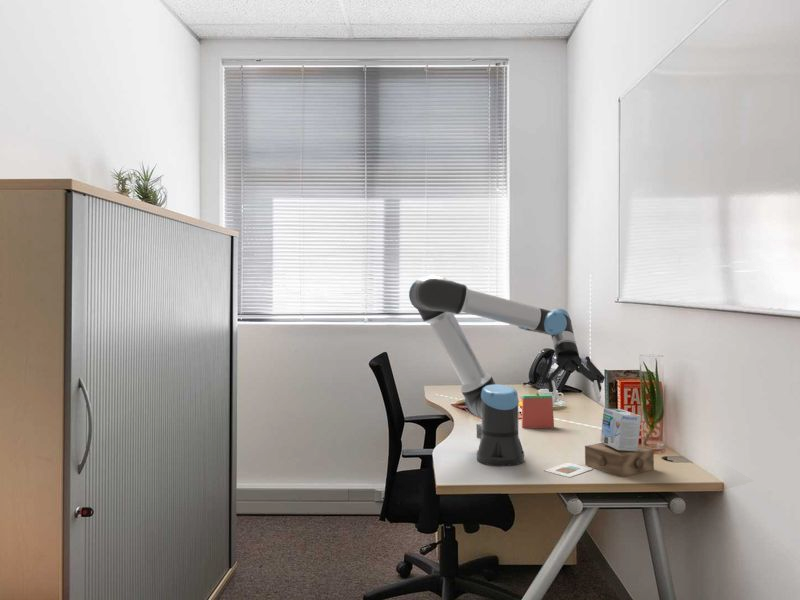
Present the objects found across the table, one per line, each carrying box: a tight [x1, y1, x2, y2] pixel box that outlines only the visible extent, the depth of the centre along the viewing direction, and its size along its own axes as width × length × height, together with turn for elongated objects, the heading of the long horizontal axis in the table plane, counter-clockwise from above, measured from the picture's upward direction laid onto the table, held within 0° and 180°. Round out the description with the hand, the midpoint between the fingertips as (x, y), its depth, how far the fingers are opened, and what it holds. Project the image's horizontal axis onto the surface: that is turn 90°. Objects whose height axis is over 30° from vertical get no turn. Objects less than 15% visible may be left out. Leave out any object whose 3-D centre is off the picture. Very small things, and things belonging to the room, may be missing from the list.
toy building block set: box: [518, 392, 555, 429], centre depth 259 cm, size 12×35×14 cm, turn 0°
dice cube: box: [476, 423, 482, 440], centre depth 226 cm, size 5×5×5 cm
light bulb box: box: [599, 407, 642, 451], centre depth 186 cm, size 11×7×11 cm, turn 12°
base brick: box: [584, 442, 655, 478], centre depth 186 cm, size 15×15×6 cm
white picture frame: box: [543, 462, 594, 479], centre depth 184 cm, size 12×9×1 cm
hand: (577, 399), depth 193 cm, fingers open, 13 cm apart
